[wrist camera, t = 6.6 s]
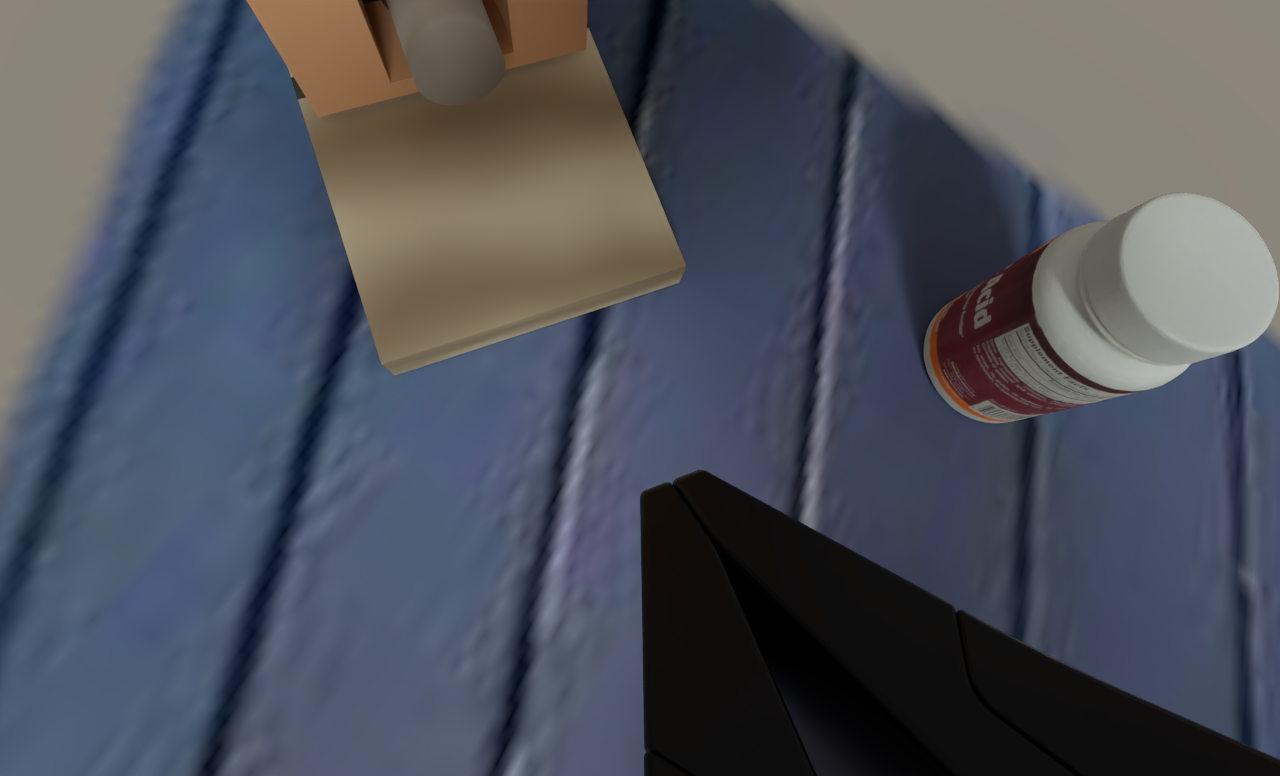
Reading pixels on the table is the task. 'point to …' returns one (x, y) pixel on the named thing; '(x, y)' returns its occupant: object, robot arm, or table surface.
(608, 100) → the pipe board
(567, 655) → the table surface
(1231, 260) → the pill bottle
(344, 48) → the wooden board
